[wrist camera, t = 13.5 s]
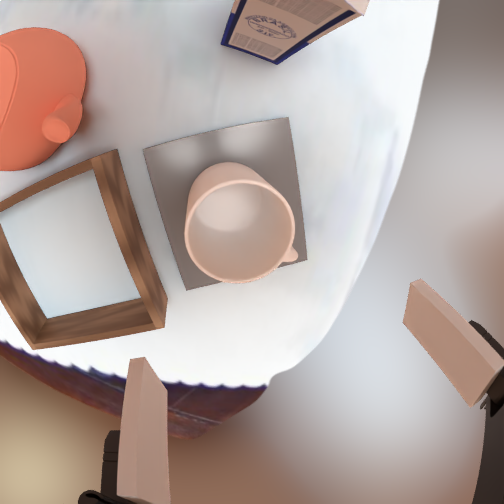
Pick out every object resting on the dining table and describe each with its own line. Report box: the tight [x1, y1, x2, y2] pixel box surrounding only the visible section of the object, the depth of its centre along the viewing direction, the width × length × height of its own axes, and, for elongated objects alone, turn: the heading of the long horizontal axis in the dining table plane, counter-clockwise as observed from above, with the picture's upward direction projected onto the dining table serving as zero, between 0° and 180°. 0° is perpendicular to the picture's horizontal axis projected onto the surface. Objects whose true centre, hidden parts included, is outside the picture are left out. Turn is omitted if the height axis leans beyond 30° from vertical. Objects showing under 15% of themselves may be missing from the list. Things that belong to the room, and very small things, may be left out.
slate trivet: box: [143, 117, 307, 291], centre depth 32 cm, size 18×16×1 cm
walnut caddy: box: [0, 149, 168, 350], centre depth 28 cm, size 20×22×6 cm
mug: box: [184, 162, 298, 283], centre depth 27 cm, size 9×12×11 cm
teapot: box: [0, 27, 86, 171], centre depth 16 cm, size 25×17×13 cm
